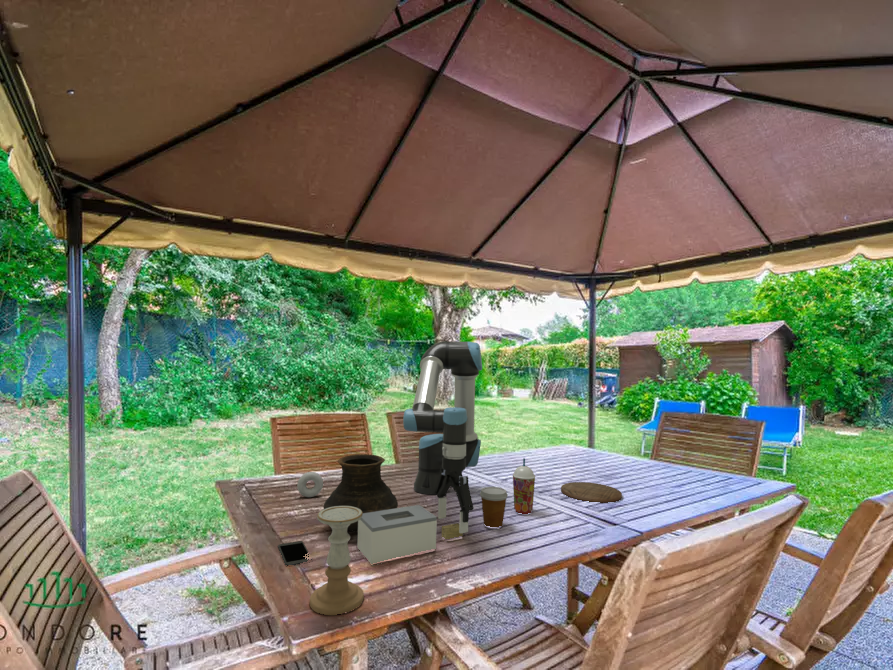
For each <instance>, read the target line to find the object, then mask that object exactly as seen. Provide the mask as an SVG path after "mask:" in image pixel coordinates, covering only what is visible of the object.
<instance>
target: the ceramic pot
mask: <svg viewBox="0 0 893 670" xmlns="http://www.w3.org/2000/svg"><path fill="white" fill-rule="evenodd" d="M385 461H386V458H384V457H382V456H380V455H376V454H370V453H369V454H368V453H367V454H366V453H362V454H356V453H355V454H351V455H350V454H349V455H345V456H342V457H341V458H339V459H338V461H337V463H338V464H339V465H340V466H341V471H342V472H341V479H340V480H341V481H340V482H339V484H337V487H336V488H335V489H334V490H333V491H332V492H331V493H330V495H329V496H328V498H327V499H326V500H325V502H324V503H323V509H326V508H329V507H334V506H352V507H356V508H359V509H361V510H362V512H363V513H369V512H376V511H382V510H389V509H395V508H399V504H398V500H397V497H396V495H394V494H393V491H392V489H391V488H390V487H389V486H388V485H387V484H386V483H385V481H384V480H383V479H382V473H381V470H382V469H381V468H382V467H381V466H382V464H384V463H385ZM347 531H349V532H354V533H358V521H357V522H354V523H351V524H350V525H349V526H348V528H347Z"/></svg>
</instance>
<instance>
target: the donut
mask: <svg viewBox="0 0 893 670" xmlns="http://www.w3.org/2000/svg"><path fill="white" fill-rule="evenodd" d="M310 481H312V482H314V486H312V487H311V488H308V487H307V483H308V482H310ZM296 486H297V487H296V488H297V491H298V492H299V494H300V495H301V496H302V497H305V498H313V497H316V496H317V495H319V494H320V493H321V491H322V489H323V487H324V480H323V477H322V476H321V474H319V472H315V471H308V472H305V473H303V474H302V475H301V476H300V477H299V479H298V480H297V484H296Z"/></svg>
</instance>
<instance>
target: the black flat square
mask: <svg viewBox="0 0 893 670" xmlns="http://www.w3.org/2000/svg"><path fill="white" fill-rule="evenodd" d="M278 548H279V549H278ZM277 549H278V551H280V552H279V554H280V553H281V554H280V556H281V555H282V557H281V558H283V559H282V561H283V560H284V562H283V564H284V563H285V564H284V566H285V565H287V566H288V565H294V566H297V565H296V564H299V565H301V564H300V563H303V562H307V561H308V560H309V559H308V560H307V558H306V559H305V557H303V556H305V554H307V553H308V552H309V551H308V548H307V547H306V545H305V543H304V541H301V540H297V541H291V542H290V541H289V542H285V543H279V544H278V545H277ZM309 554H310V553H309ZM309 554H308V555H309ZM306 556H307V555H306ZM308 557H309V556H308ZM312 559H313V558H312ZM312 559H311V560H312ZM287 566H286V567H287Z"/></svg>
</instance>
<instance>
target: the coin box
mask: <svg viewBox="0 0 893 670" xmlns="http://www.w3.org/2000/svg"><path fill="white" fill-rule="evenodd" d="M437 519H438V516H437V515H435V514H433V513H431V512H430V511H429V510H427V509H426V508H425V507H423V506H422V505H420V504H415V505H410V506H404V507H397V508H395V509H389V510H382V511H376V512H369V513H363V516H362V518H361V519H360V520H359V521H358V532H357V544H356V545H357V546H356V548H357V547H358V549H359V550H360V551H361V552H362V553H363V555H364V556H365V557H366V558H367V559H368V561H369V562H370V563H371V564H373V563H377V562H380V561H384V560H388V559H392V558H396V557H401V556H405V555H410V554H414V553H418V552H421V551H426V550H431V549H436V550H437V529H438V528H437V521H438V520H437ZM358 549H357V550H358ZM359 550H358V551H359ZM360 551H359V552H360ZM363 555H362V556H363ZM364 556H363V557H364ZM365 557H364V558H365ZM368 561H367V562H368ZM369 562H368V563H369Z"/></svg>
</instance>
